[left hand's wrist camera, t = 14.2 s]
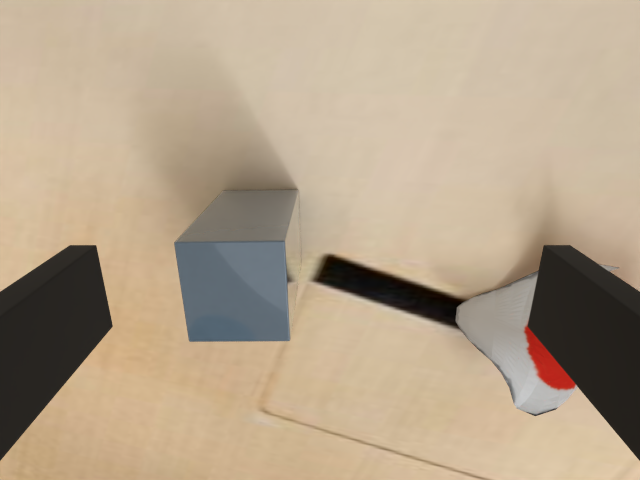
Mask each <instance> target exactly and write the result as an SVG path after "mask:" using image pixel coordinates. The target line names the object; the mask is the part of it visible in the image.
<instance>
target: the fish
mask: <svg viewBox="0 0 640 480" xmlns="http://www.w3.org/2000/svg"><path fill="white" fill-rule="evenodd" d="M599 265H600V264H599ZM600 266H602V267H603V268H605V269H606V270H608V271H611V270H615V269H618V267H612V266H606V265H600ZM538 272H539V271H537V272H534V273H532V274H530V275H528V276H526V277H523V278H521V279H519V280H517V281H514V282H512V283H510V284H508V285H506V286H503V287H501V288H499V289H497V290H493V291H490V292H486V293H483V294H480V295H478V296H475V297H472V298H470V299H469V300H467V301H465V302H463V303H462V304H461V305H459V306H458V307H457V313H456V323H457V324H458V326H459V328H460V329H461V331H462V332H463V333H464V335H465V336H466V337H467V338H468V340H469V341H470V342H471V343H472V344H473V345H474V346H475V347H476V348H477V349H478V350H480V351H481V352H482V353H483V354H484V355H485V356H486V357H488V358H489V359H490V360H491V361H492V362H493V363H494V365H495V366H496V367H497V368H498V370H499V371H500V372H501V373H502V375H503V377H504V379H505V381H506V382H507V384H508V386H509V388H510V392H511V395H512V399H513V402H514V404H515V406H516V408H517V409H519V410H522V411H524V412H527V413H529V414H532V415H534V416H537V415H540V414H543V413H546V412H549V411H552V410H555V409H557V408H558V407H559V406H560V405H561V404H563V403H564V402H565V401H566V400H567V399H568V398H569V397H570V396H571V394H572V393H573V392H574V391H575V389H576V388H577V387H578V386H577V385H576V384H575V383H574V381H573V380H572V379H571V378H570V377H569V376H568V374H567V373H566V372H565V371H564V370H563V368H562V367H561V366H560V365H559V364H558V362H557V361H556V360H555V359H554V358H553V356H552V355H551V354H550V353H549V352H548V350H547V349H546V348H545V347H544V346H543V344H542V343H541V342H540V341H539V340H538V338H537V337H536V336H535V335H534V334H533V333H532V331H531V330H530V329H529V328H528V327H527V325H528V321H529V316H530V311H531V306H532V301H533V296H534V291H535V286H536V282H537V277H538Z"/></svg>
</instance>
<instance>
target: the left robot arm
mask: <svg viewBox="0 0 640 480" xmlns="http://www.w3.org/2000/svg"><path fill="white" fill-rule="evenodd" d="M112 327H113V326H112V321H111V316H110V311H109V306H108V301H107V296H106V291H105V286H104V282H103V277H102V272H101V267H100V262H99V257H98V252H97V247H96V245H70V246H68V247H67V248H65V249H64V250H62V251H61V252H59V253H58V254H56V255H55V256H53V257H52V258H50V259H49V260H47V261H46V262H44V263H43V264H41V265H40V266H38V267H37V268H35V269H34V270H32V271H31V272H29V273H28V274H26V275H25V276H23V277H22V278H20V279H19V280H17V281H16V282H14V283H13V284H11V285H10V286H8V287H7V288H5V289H4V290H2V291H1V292H0V460H1V459H2V458H3V457H4V456H5V454H6V453H7V452H8V451H9V450H10V448H11V447H12V446H13V445H14V444H15V442H16V441H17V440H18V439H19V438H20V436H21V435H22V434H23V433H24V432H25V430H26V429H27V428H28V427H29V426H30V425H31V423H32V422H33V421H34V420H35V419H36V417H37V416H38V415H39V414H40V413H41V411H42V410H43V409H44V408H45V407H46V405H47V404H48V403H49V402H50V401H51V399H52V398H53V397H54V396H55V395H56V393H57V392H58V391H59V390H60V389H61V387H62V386H63V385H64V384H65V383H66V381H67V380H68V379H69V378H70V377H71V376H72V374H73V373H74V372H75V371H76V370H77V368H78V367H79V366H80V365H81V364H82V362H83V361H84V360H85V359H86V358H87V356H88V355H89V354H90V353H91V352H92V350H93V349H94V348H95V347H96V346H97V344H98V343H99V342H100V341H101V340H102V338H103V337H104V336H105V335H106V334H107V333H108V331H109V330H110V329H111V328H112ZM527 327H528V328H529V329H530V330H531V331H532V333H533V334H534V335H535V336H536V337H537V338H538V340H539V341H540V342H541V343H542V344H543V346H544V347H545V348H546V349H547V350H548V352H549V353H550V354H551V355H552V356H553V358H554V359H555V360H556V361H557V362H558V364H559V365H560V366H561V367H562V368H563V370H564V371H565V372H566V373H567V374H568V376H569V377H570V378H571V379H572V380H573V381H574V383H575V384H576V385H577V386H578V387H579V389H580V390H581V391H582V392H583V393H584V395H585V396H586V397H587V398H588V399H589V401H590V402H591V403H592V404H593V405H594V407H595V408H596V409H597V410H598V411H599V413H600V414H601V415H602V416H603V417H604V419H605V420H606V421H607V422H608V423H609V425H610V426H611V427H612V428H613V429H614V430H615V432H616V433H617V434H618V435H619V436H620V438H621V439H622V440H623V441H624V442H625V444H626V445H627V446H628V447H629V448H630V450H631V451H632V452H633V453H634V454H635V456H636V457H637V458H638V459H639V460H640V292H639V291H638V290H636V289H635V288H633V287H632V286H630V285H629V284H627V283H626V282H624V281H623V280H621V279H620V278H618V277H617V276H615V275H614V274H612V273H611V272H609V271H608V270H606V269H605V268H603V267H602V266H600V265H599V264H597V263H596V262H594V261H593V260H591V259H590V258H588V257H587V256H585V255H584V254H582V253H581V252H579V251H578V250H576V249H575V248H573V247H572V246H570V245H544V247H543V252H542V257H541V262H540V267H539V272H538V277H537V282H536V286H535V291H534V296H533V301H532V306H531V311H530V316H529V321H528V325H527Z"/></svg>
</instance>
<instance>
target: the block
mask: <svg viewBox="0 0 640 480" xmlns="http://www.w3.org/2000/svg"><path fill="white" fill-rule="evenodd" d="M174 245H175V252H176V258H177V265H178V271H179V278H180V285H181V291H182V298H183V304H184V311H185V318H186V324H187V331H188V338H189V341H190V342H213V341H290V338H291V331H292V324H293V317H294V310H295V303H296V296H297V289H298V282H299V275H300V268H301V242H300V215H299V191H298V190H233V191H222V192H221V193H220V194H219V196H218V197H217V198H216V199H215V200H214V201H213V202H212V203H211V204H210V205H209V206H208V207H207V208H206V209H205V210H204V211H203V212H202V213H201V215H200V216H199V217H198V218H197V219H196V220H195V221H194V222H193V223H192V224H191V225H190V226H189V227H188V228H187V229H186V230H185V231H184V233H183V234H182V235H181V236H180V237H179V238H178V239H177V240H176V241H175V242H174Z"/></svg>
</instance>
